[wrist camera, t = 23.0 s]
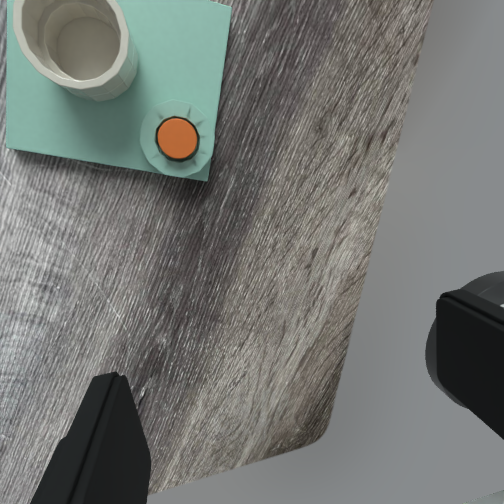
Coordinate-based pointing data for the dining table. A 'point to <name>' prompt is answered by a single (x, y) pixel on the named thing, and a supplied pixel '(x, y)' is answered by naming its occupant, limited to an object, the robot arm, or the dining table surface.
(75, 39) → the white cup
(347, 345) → the dining table surface
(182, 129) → the power button
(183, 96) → the scale
